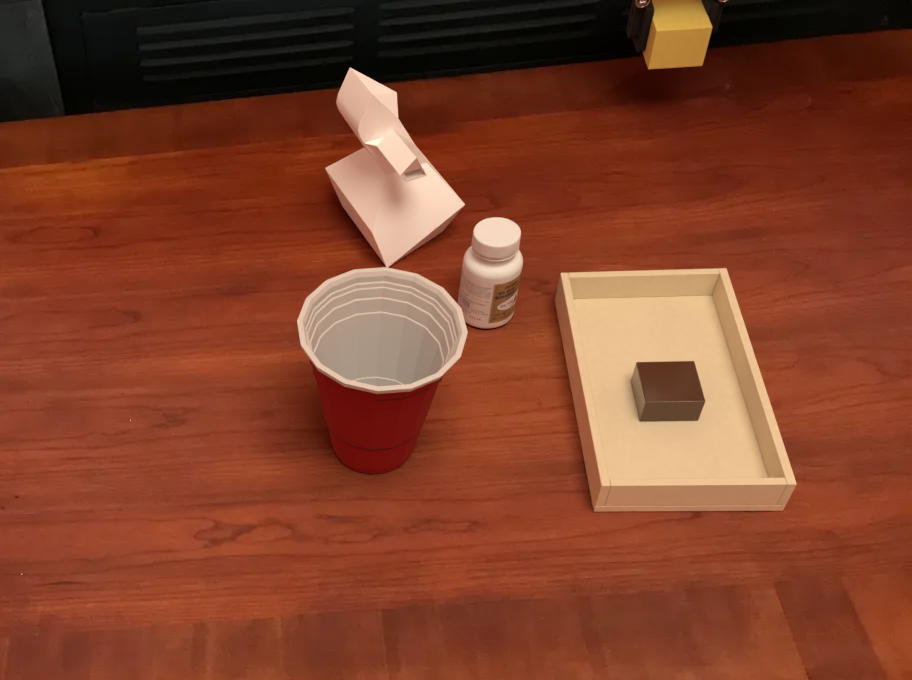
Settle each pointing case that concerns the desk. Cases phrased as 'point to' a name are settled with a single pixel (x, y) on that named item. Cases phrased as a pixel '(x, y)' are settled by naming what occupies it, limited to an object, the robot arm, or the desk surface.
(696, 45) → the yellow rectangular block
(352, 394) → the plastic cup
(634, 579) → the desk surface
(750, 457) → the tray
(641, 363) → the brown flat square block
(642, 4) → the robot arm
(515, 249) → the pill bottle
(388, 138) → the white faceted sculpture
